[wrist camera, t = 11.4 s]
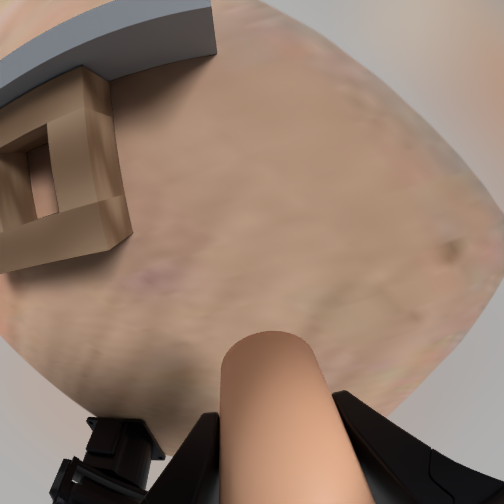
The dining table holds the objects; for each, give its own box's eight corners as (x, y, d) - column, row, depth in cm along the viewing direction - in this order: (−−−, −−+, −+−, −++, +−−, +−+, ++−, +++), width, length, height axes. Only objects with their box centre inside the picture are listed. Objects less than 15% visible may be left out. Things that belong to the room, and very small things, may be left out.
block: (133, 233, 17) (108, 250, 14) (24, 258, 17) (-7, 275, 13) (109, 83, 15) (82, 65, 11) (3, 132, 14) (-31, 131, 11)
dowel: (316, 394, 10) (374, 561, 3) (230, 408, 10) (237, 586, 3) (314, 323, 9) (413, 528, 2) (212, 339, 9) (198, 569, 2)
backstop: (217, 53, 15) (211, 6, 9) (-41, 160, 14) (-87, 166, 8) (213, 28, 14) (206, -23, 8) (-42, 140, 14) (-87, 142, 8)
